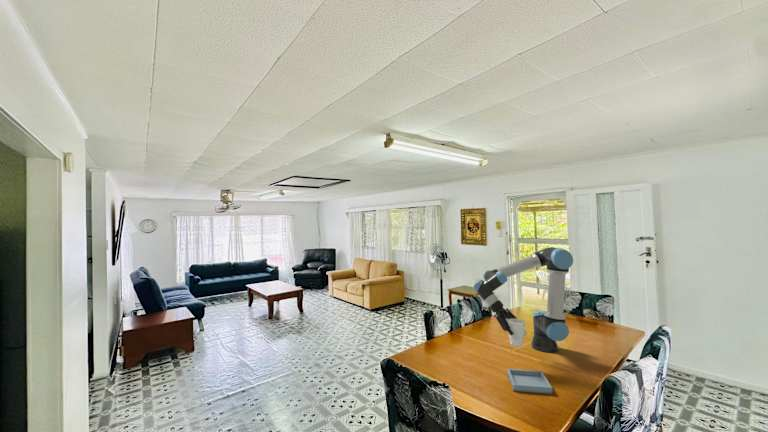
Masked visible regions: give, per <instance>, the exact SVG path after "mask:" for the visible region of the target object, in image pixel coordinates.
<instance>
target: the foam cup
mask: <svg viewBox="0 0 768 432" xmlns="http://www.w3.org/2000/svg"><path fill="white" fill-rule="evenodd" d="M506 320H507V323H508V325H509V327H510V328H512V329H513V331H514V332H515V333H516V334H517V336H518V337H519V339H518V340H517V341H515V340H514V339H513V337H512V336H511V335H510V334H509V333H508V337H509V343H510V345H511V346H514V347H523V344H524V343H523V342H524V337H525V336H524V330H525V327H526V322H525V320H524V319H520V318H517V319H513V318H511V319H507V318H506Z"/></svg>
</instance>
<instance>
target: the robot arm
mask: <svg viewBox="0 0 768 432" xmlns="http://www.w3.org/2000/svg"><path fill="white" fill-rule="evenodd" d="M573 264H574V257H573V255H572V253H571V252H570V251H568V250H567V249H565V248H560V247H545V248H543V249H540V250H539V251H536V252H533V253H532V254H531V255H529V256H527V257H524V258H521V259H518V260H516V261H514V262H510V263H508V264H506V265H502V266H501V267H500V266H499V267H497V268H495V269H492V270H486V271H484V273H483V274H482V278H483V279H479V280H477V281H476V282H475V283H473V289H474V290H475V292H476V293H477V295H478V296H479V297H480V298H481V300H482V301H484V303H485V304H486V305H487V306H488V307H489V309H490V311H491V312H492V313H494V314H493V316H494V318H496V321H497V322H498V323H499V325H500V327H501V328H502V330H503V331H504V332H507V333H508V335H509V334H510V335H511V336H512V337H513V339H514V340H515V341H517V340H518V339H519V337H518V336H517V334H516V333H515V332H514V331H513V329H512V328H510V327H509V325H508V323H507V319H511V318H513V319H518V317H517V316H516V315H515V314H514V313H512V312H511V310H510V309H509V308H508V307H507V308H504V303H502V301H501V300H500V299H499V297H498V296H497V295H496V294H495V293H494V291H496V290H497V289H499V288H500V287H501V286H503V285H504V284H505V283H507V282H508V278H510V277H513V276H515V275H518V274H520V273H523V272H526V271H529V270H532V269H534V268H537V267H538V268H541V267H545V266H546V270H547V272H548V287H547V288H548V289H547V305H546V306H547V307H546V310H536V311H533V314H532V317H533V318H532V319H533V321H532V322H533V336H532V340H531V348H533V349H534V350H536V351H538V352H539V351H540V352H544V353H545V352H546V353H553V352H554V353H555V352H557V351H558V350H559V345H558V343H557V342H562V341H564V340H566V339H567V338H568V336H569V333H570V329H569V327H568V326H567V324H566V323H567V321H566V319H567V318H566V316H565V315H564V307H565V305H564V303H565V287H566V275H567V274H568V273H569V271H570V268H571V267H572V266H573ZM526 335H528V332H527V331H526V329H524V336H523V337H525V336H526Z"/></svg>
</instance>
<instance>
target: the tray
mask: <svg viewBox="0 0 768 432" xmlns="http://www.w3.org/2000/svg"><path fill="white" fill-rule="evenodd" d="M506 371H507V373H506V375H507V377H508V379H509V383H510V385H511V387H512V390H513V392H520V393H521V392H522V393H532V394H543V395H545V394H546V395H553V394H554V393H553V386H552V385H551V384H550V382H549V380H548V378H547V376H545V373H543V371H542V370H531V369H527V370H526V369H516V368H506Z"/></svg>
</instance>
